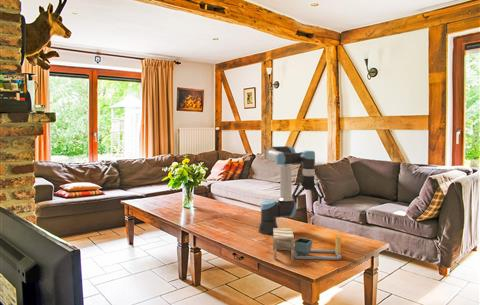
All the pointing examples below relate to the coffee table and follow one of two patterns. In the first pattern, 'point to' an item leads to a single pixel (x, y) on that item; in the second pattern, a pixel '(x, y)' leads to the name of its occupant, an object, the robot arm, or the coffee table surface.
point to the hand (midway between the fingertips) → (307, 208)
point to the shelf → (283, 241)
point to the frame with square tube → (336, 251)
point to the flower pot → (303, 246)
